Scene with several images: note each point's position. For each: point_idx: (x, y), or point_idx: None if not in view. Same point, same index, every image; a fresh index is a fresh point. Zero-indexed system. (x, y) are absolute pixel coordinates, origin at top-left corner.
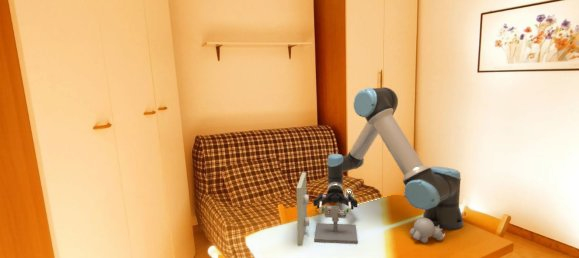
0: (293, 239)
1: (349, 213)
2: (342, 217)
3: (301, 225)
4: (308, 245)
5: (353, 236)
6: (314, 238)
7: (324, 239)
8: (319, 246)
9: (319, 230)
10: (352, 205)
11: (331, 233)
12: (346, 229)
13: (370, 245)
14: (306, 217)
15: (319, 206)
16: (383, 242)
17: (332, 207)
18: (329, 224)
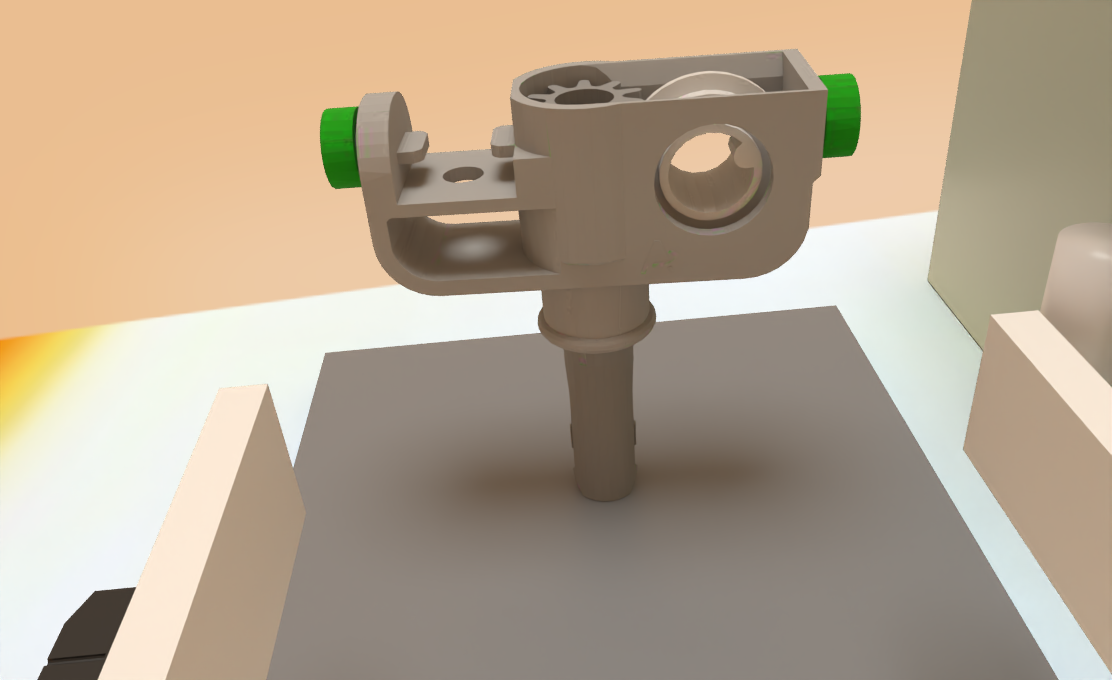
0: None
1: (294, 501)
2: (467, 224)
3: (966, 53)
4: (864, 291)
5: (354, 413)
6: (837, 314)
7: (713, 317)
8: (744, 296)
9: (861, 463)
10: (81, 653)
11: (656, 423)
12: (429, 555)
13: (196, 386)
14: (1107, 240)
15: (1055, 332)
16: (7, 453)
17: (642, 99)
18: (764, 673)
